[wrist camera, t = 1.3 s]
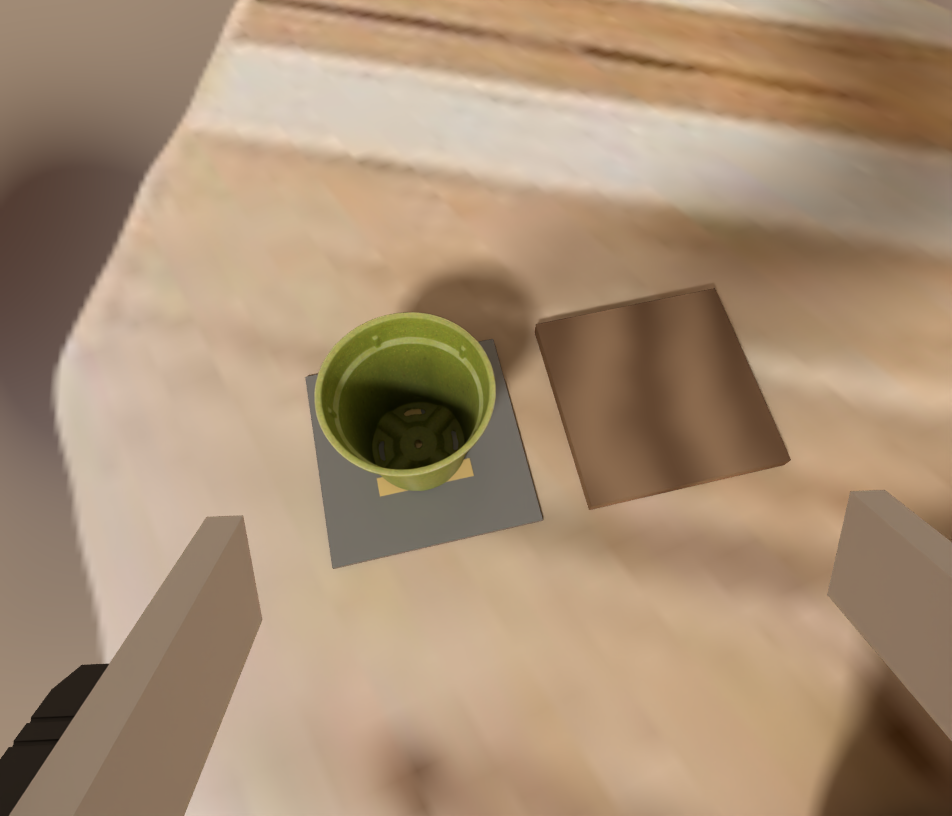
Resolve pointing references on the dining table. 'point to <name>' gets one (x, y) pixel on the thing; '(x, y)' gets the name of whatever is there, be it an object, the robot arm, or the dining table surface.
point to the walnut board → (657, 398)
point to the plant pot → (406, 397)
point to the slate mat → (427, 491)
